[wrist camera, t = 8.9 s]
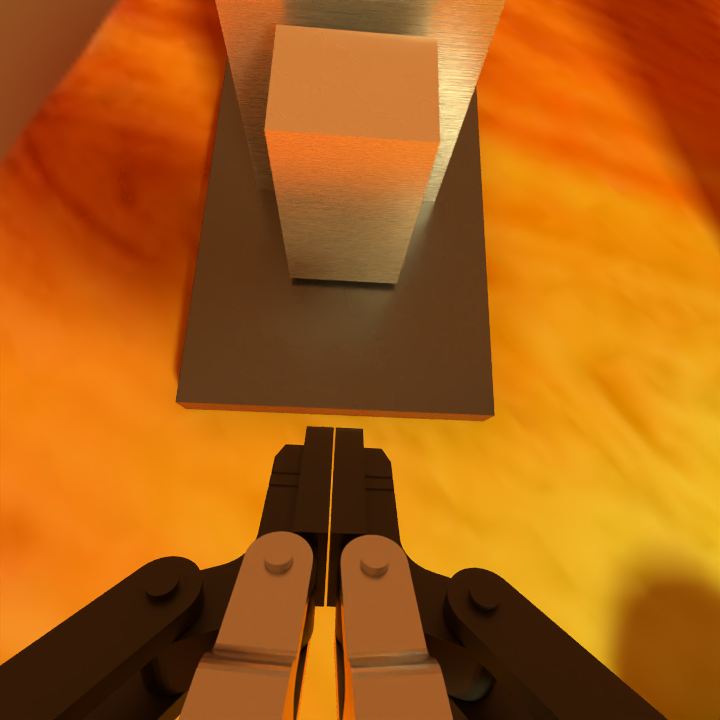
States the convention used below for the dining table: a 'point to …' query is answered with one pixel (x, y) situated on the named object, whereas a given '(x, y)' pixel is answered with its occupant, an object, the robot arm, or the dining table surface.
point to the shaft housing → (334, 297)
